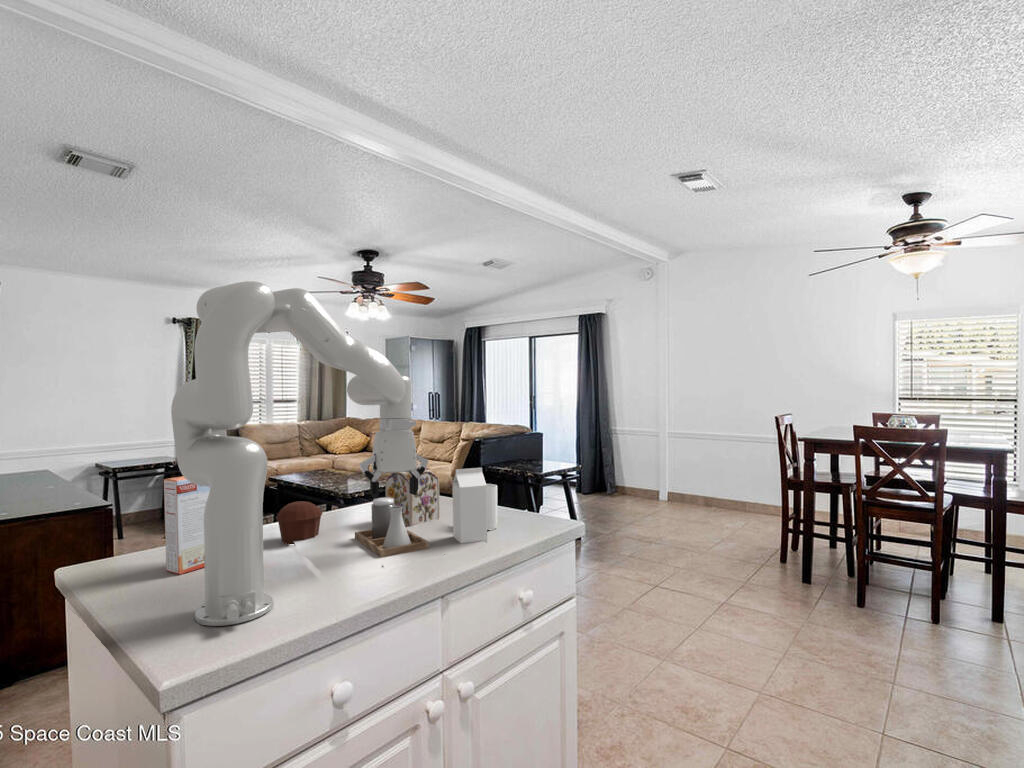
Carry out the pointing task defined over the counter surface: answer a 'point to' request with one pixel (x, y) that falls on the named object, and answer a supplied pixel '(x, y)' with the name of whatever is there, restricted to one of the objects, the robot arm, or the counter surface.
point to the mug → (491, 506)
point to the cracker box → (184, 524)
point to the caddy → (377, 545)
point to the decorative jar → (415, 496)
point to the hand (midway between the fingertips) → (394, 495)
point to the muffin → (298, 521)
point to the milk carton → (469, 505)
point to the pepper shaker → (381, 516)
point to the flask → (396, 530)
